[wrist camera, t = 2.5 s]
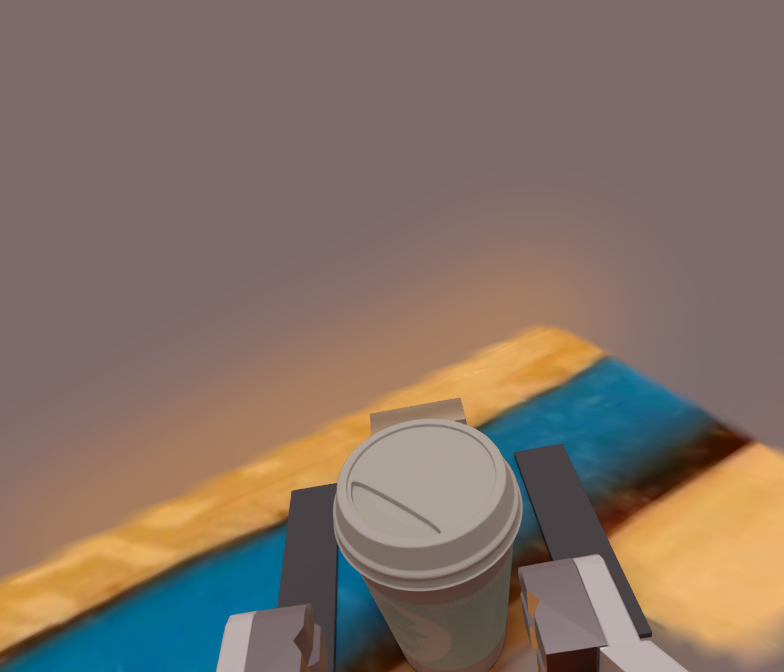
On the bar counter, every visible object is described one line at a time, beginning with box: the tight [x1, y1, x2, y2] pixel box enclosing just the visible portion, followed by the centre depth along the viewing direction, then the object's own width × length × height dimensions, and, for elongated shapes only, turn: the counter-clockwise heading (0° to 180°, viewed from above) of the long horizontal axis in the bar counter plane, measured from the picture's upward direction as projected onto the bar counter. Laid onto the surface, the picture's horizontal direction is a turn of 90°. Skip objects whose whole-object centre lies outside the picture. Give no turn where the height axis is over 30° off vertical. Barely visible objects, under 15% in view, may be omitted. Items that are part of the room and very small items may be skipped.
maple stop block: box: [370, 398, 467, 436], centre depth 42 cm, size 2×7×3 cm, turn 94°
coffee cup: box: [333, 419, 522, 672], centre depth 27 cm, size 8×9×12 cm
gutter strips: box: [277, 444, 652, 672], centre depth 35 cm, size 14×20×1 cm
